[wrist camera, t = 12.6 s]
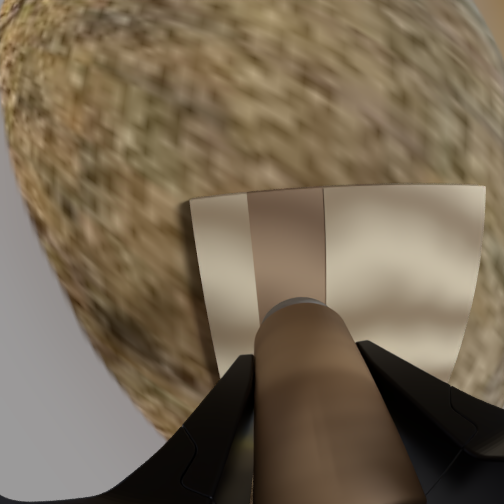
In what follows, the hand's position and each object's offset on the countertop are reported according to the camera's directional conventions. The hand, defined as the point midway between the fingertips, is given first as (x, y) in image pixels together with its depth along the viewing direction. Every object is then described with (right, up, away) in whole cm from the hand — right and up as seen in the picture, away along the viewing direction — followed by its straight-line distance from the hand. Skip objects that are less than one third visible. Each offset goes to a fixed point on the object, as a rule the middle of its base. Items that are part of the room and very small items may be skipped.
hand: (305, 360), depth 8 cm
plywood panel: (+5, -1, +10) cm, 12 cm away
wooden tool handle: (0, +1, +1) cm, 2 cm away
